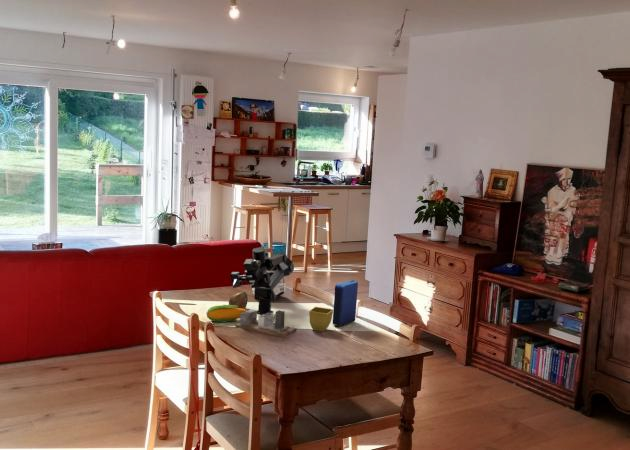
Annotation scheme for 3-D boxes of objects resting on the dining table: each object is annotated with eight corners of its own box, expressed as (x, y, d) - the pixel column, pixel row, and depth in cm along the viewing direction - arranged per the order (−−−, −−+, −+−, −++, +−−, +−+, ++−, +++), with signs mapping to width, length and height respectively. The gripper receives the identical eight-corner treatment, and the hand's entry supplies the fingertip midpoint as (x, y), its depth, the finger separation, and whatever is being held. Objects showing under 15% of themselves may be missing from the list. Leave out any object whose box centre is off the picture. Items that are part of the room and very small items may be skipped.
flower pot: (332, 328, 310) (333, 309, 308) (326, 333, 301) (327, 313, 300) (314, 325, 312) (315, 306, 311) (307, 330, 304) (308, 310, 303)
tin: (233, 314, 323) (233, 297, 321) (227, 313, 324) (227, 296, 322) (247, 307, 336) (248, 290, 335) (242, 306, 338) (242, 289, 336)
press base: (249, 320, 314) (250, 307, 313) (295, 330, 303) (296, 317, 302) (235, 326, 303) (235, 313, 303) (282, 337, 293) (282, 323, 292)
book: (347, 319, 325) (350, 278, 322) (357, 322, 322) (360, 280, 319) (330, 325, 313) (333, 283, 311) (340, 328, 310) (343, 285, 308)
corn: (205, 303, 311) (247, 301, 319) (204, 319, 312) (246, 316, 320) (209, 308, 304) (252, 306, 312) (208, 324, 306) (251, 322, 313)
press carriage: (267, 323, 307) (268, 306, 306) (288, 327, 302) (289, 310, 301) (257, 327, 300) (258, 310, 299) (279, 332, 295) (280, 314, 294)
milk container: (252, 294, 365) (250, 260, 364) (285, 292, 367) (283, 258, 365) (252, 300, 348) (251, 265, 347) (286, 298, 350) (285, 263, 348)
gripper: (236, 256, 317) (220, 270, 304) (272, 256, 310) (257, 270, 297) (240, 278, 321) (225, 293, 307) (276, 278, 314) (262, 293, 300)
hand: (242, 287), depth 303 cm, fingers open, 9 cm apart
